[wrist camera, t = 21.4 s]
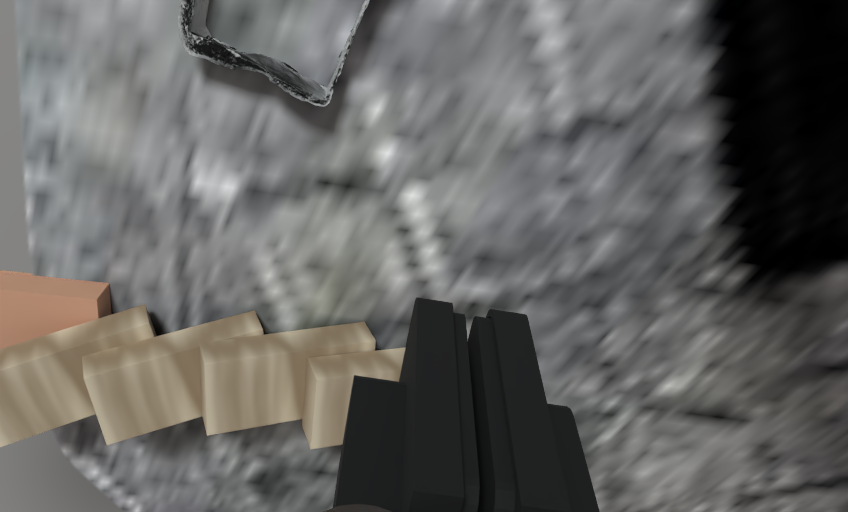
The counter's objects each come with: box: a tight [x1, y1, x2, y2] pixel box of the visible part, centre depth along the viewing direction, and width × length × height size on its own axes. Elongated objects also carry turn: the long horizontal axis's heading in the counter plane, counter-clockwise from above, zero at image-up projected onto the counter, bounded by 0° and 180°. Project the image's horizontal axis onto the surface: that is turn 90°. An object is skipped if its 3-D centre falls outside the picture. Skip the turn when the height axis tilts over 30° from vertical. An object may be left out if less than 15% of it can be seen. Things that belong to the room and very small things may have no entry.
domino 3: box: [82, 311, 264, 445], centre depth 46 cm, size 2×5×10 cm
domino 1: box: [0, 270, 112, 349], centre depth 46 cm, size 2×5×10 cm
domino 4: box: [199, 322, 376, 436], centre depth 46 cm, size 2×5×10 cm
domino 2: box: [0, 304, 157, 447], centre depth 45 cm, size 2×5×10 cm
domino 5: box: [302, 348, 405, 449], centre depth 46 cm, size 2×5×10 cm
